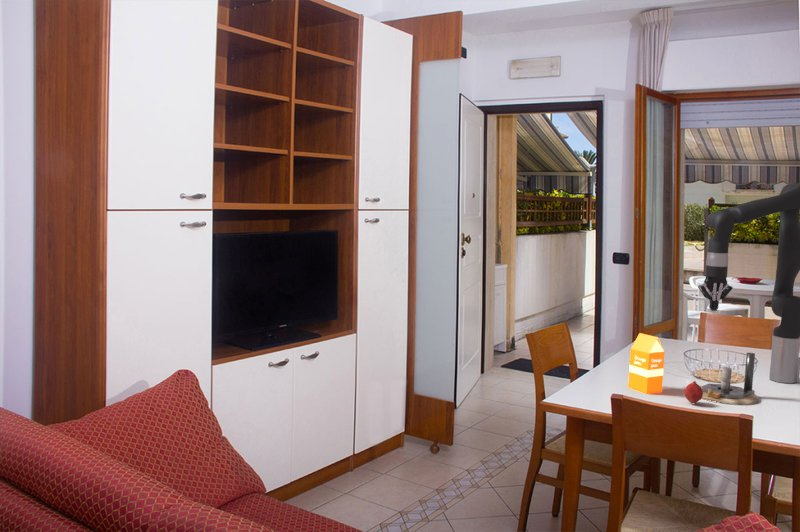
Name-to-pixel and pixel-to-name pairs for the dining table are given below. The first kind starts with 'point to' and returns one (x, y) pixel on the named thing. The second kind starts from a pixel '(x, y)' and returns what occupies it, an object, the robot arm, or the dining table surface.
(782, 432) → the dining table surface
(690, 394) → the onion
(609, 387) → the dining table surface
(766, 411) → the dining table surface
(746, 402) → the post stand
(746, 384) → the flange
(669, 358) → the dining table surface
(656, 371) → the orange juice
